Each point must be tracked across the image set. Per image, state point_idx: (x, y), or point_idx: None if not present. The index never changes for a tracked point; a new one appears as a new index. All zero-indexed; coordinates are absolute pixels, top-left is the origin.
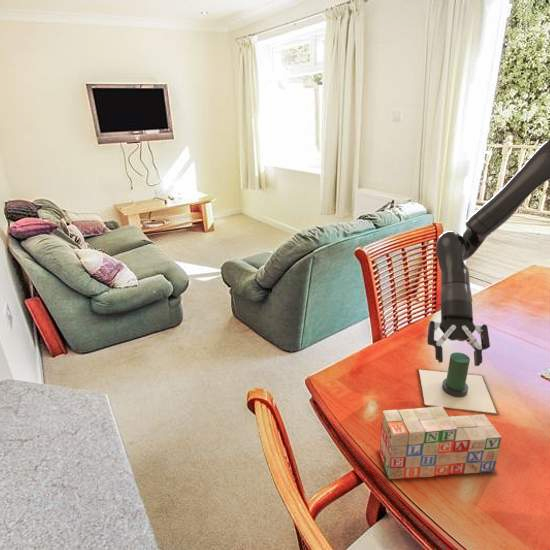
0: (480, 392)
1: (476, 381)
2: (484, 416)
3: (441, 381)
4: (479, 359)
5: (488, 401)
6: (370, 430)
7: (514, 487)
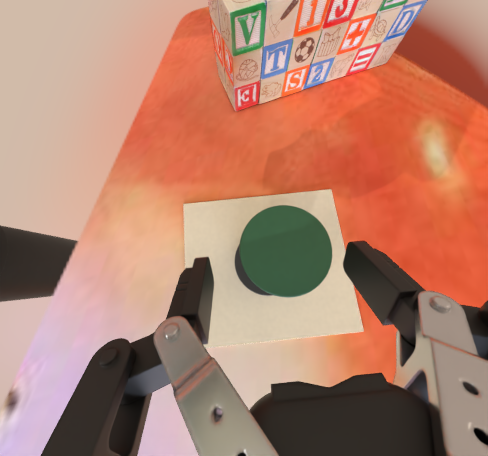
0: None
1: None
2: (230, 5)
3: None
4: (192, 271)
5: (192, 238)
6: (416, 100)
7: (196, 65)
